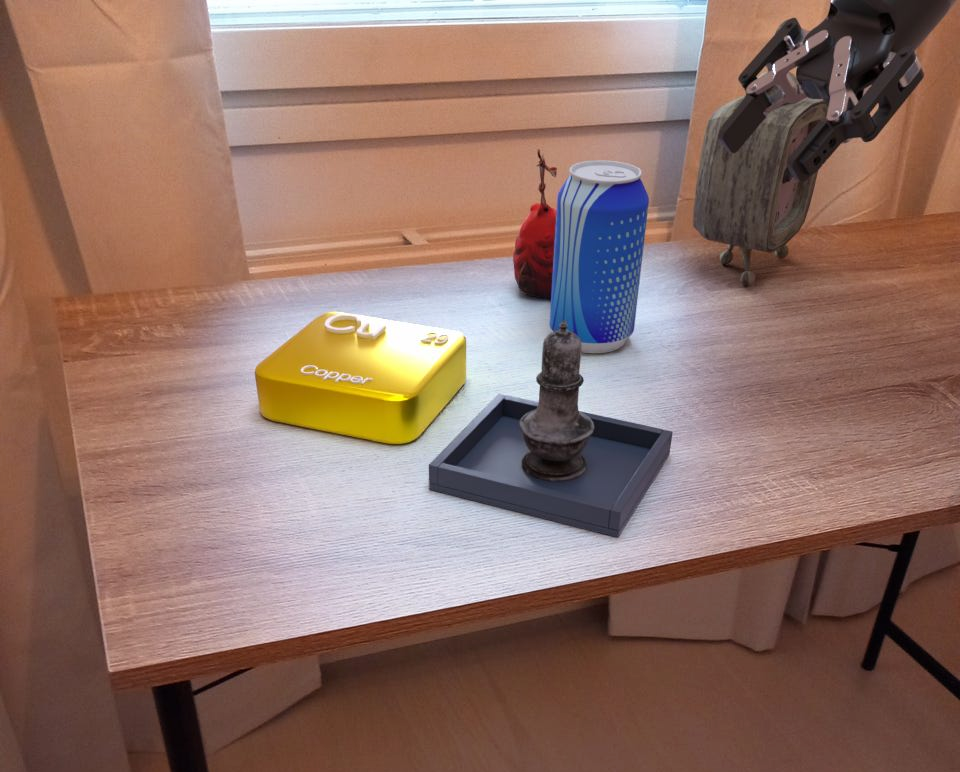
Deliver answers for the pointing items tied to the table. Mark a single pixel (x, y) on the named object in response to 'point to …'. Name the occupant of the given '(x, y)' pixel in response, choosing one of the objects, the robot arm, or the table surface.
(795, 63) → the robot arm
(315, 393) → the element tile
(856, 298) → the table surface
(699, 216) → the tabletop clock
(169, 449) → the table surface
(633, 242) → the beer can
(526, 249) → the red rounded tall piece
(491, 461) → the tray
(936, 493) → the table surface
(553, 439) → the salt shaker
